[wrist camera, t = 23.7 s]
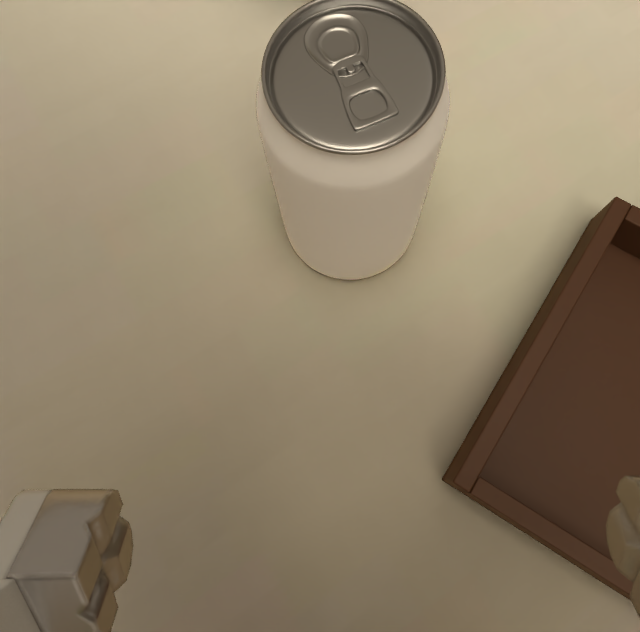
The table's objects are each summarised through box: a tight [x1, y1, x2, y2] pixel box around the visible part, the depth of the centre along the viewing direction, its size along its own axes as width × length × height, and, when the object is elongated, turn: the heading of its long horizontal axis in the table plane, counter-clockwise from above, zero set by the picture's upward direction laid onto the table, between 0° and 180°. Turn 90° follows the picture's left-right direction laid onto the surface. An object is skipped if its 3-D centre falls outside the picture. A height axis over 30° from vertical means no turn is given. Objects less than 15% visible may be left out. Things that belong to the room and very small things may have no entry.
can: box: [256, 0, 450, 280], centre depth 24 cm, size 6×6×12 cm
